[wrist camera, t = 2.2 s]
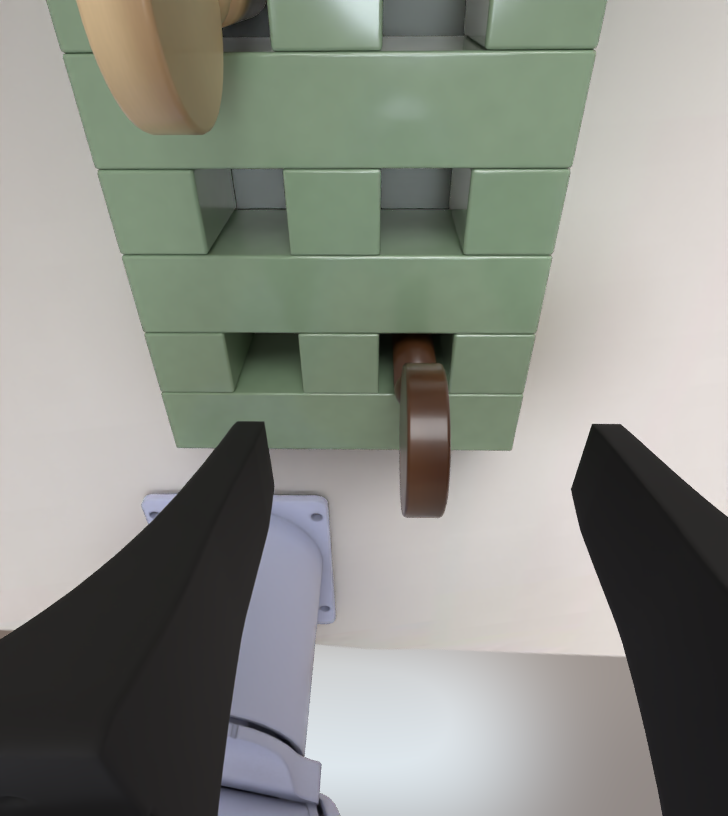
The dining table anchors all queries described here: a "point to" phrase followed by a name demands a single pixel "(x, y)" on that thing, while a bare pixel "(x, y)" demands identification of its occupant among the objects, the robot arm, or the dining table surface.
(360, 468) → the dining table surface
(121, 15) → the beech spoon
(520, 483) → the dining table surface
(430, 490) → the walnut spoon
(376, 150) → the utensil stand
